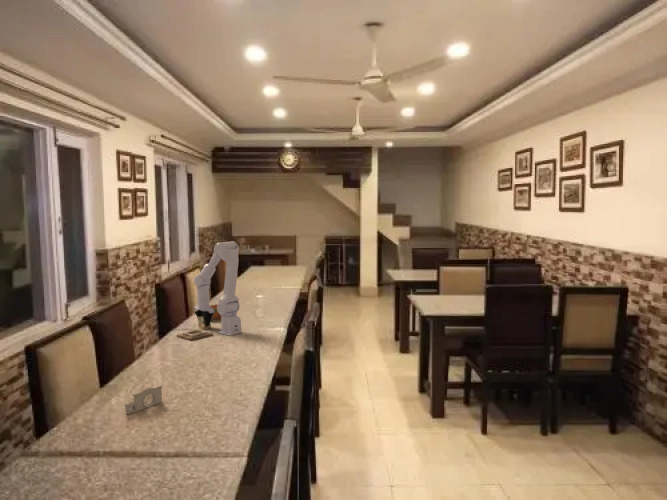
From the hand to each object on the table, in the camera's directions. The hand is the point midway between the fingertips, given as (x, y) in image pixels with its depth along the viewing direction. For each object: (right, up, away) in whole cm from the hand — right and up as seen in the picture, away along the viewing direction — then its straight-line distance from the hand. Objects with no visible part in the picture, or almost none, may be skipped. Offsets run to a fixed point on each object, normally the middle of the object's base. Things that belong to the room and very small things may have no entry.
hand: (204, 325), depth 250 cm
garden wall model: (+7, -11, -99) cm, 100 cm away
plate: (-1, -3, -15) cm, 16 cm away
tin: (+2, 0, +20) cm, 20 cm away
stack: (0, -1, 0) cm, 1 cm away
